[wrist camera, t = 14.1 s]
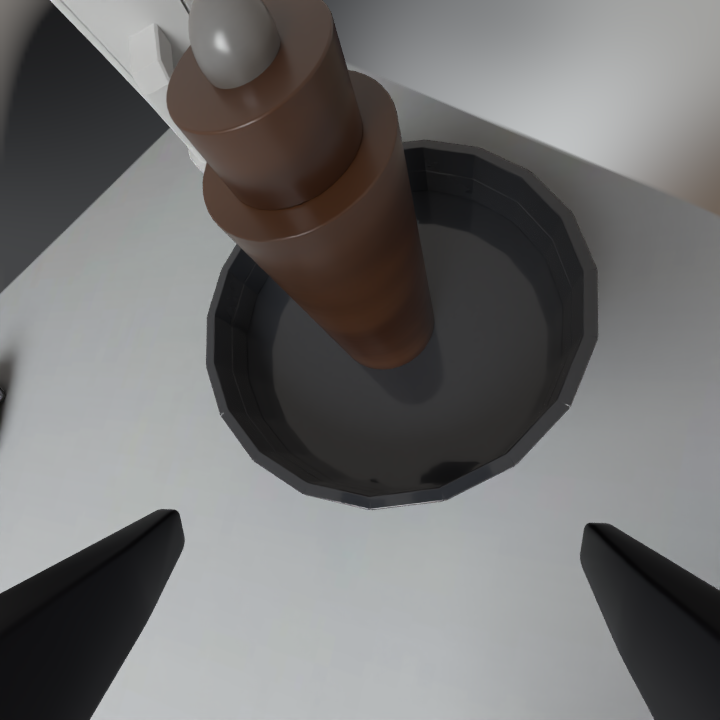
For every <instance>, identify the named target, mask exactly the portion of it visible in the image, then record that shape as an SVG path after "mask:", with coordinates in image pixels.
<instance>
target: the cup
mask: <svg viewBox="0 0 720 720" xmlns="http://www.w3.org/2000/svg"><path fill="white" fill-rule="evenodd" d="M50 1H51V2H52V3H53V4H54V5H55V6H56V7H57V8H58V9H59V10H60V11H61V12H62V13H63V14H64V15H65V16H66V17H67V18H68V19H69V20H70V21H71V22H72V23H73V24H74V25H75V26H76V27H77V29H78V30H79V31H80V32H81V33H82V34H83V35H84V36H85V37H86V38H87V39H88V40H89V41H90V42H91V43H92V44H93V45H94V46H95V47H96V48H97V49H98V50H99V51H100V52H101V53H102V54H103V55H104V56H105V57H106V59H108V61H109V62H110V63H111V64H112V65H113V66H114V67H115V68H116V69H117V70H118V71H119V72H120V73H121V74H122V75H123V76H124V78H125V79H126V80H127V81H128V82H129V83H130V84H131V85H132V86H133V87H134V88H135V89H136V90H137V91H138V92H139V93H140V94H141V96H142V97H143V98H144V99H145V100H146V101H147V102H148V103H149V104H150V105H151V106H152V107H153V108H154V110H155V111H156V112H157V113H158V114H159V115H160V116H161V118H162V119H163V120H164V121H165V122H166V123H167V124H168V125H169V127H170V128H171V129H172V130H173V131H174V132H175V133H176V134H177V136H178V137H179V138H180V139H181V140H182V141H183V142H184V143H185V145H186V146H187V147H188V150H189V156H190V158H191V160H192V161H193V162H194V164H195V165H196V166H197V167H198V168H199V170H200V171H201V172H202V173H203V174H204V171H205V167H206V163H207V162H206V160H205V159H204V158H203V157H202V156H201V154H200V153H199V152H198V151H197V150H196V148H195V147H194V146H193V145H192V144H191V142H190V141H189V140H188V139H187V138H186V136H185V135H184V134H183V133H182V132H181V130H180V129H179V128H178V127H177V126H176V124H175V123H174V122H173V120H172V119H171V117H170V115H169V112H168V109H167V103H166V94H167V88H168V84H169V81H170V78H171V76H172V73H173V71H174V69H175V67H176V65H177V64H178V62H179V60H180V59H181V57H182V56H183V54H184V53H185V51H186V50H187V49H188V48H189V46H190V45H191V44H190V39H189V32H188V20H189V13H190V9H191V6H192V3H193V1H194V0H50Z"/></svg>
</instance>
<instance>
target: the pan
mask: <svg viewBox="0 0 720 720" xmlns="http://www.w3.org/2000/svg"><path fill="white" fill-rule="evenodd" d="M402 143H403V149H404V154H405V160H406V165H407V171H408V176H409V182H410V187H411V193H412V198H413V204H414V209H415V215H416V220H417V226H418V231H419V237H420V242H421V247H422V253H423V258H424V264H425V269H426V275H427V280H428V286H429V291H430V297H431V302H432V308H433V314H434V328H433V332H432V336H431V338H430V340H429V342H428V344H427V345H426V347H425V348H424V350H423V351H422V352H421V353H420V354H419V355H418V356H417V357H416V358H414V359H413V360H412V361H410V362H408V363H407V364H405V365H402V366H400V367H396V368H393V369H373V368H369V367H366V366H364V365H361V364H360V363H358V362H356V361H355V360H354V359H353V358H352V357H351V356H350V355H349V354H348V353H347V352H346V351H345V350H344V349H343V348H342V347H341V346H340V345H339V344H338V343H336V342H335V341H334V340H333V339H332V338H331V337H330V336H329V335H328V334H327V333H326V332H325V331H324V330H323V329H322V328H321V327H320V326H319V325H318V324H317V323H316V322H315V321H314V320H313V319H312V318H311V317H310V316H309V315H308V314H307V313H306V312H305V311H304V310H303V309H302V308H301V307H300V306H299V305H298V304H297V303H296V302H295V301H294V300H293V299H292V298H291V297H290V296H289V295H288V294H287V293H286V292H285V291H284V290H283V289H282V288H281V287H280V286H279V285H278V284H277V283H276V282H275V281H274V280H273V279H272V278H271V277H270V276H269V275H268V274H267V273H266V272H265V271H264V270H263V269H262V268H261V267H260V266H259V265H258V264H257V263H256V262H255V261H254V260H253V259H252V258H251V257H250V256H248V255H247V254H246V253H245V252H244V251H243V250H242V249H241V248H240V247H239V246H238V245H237V244H236V246H235V248H234V249H233V251H232V253H231V254H230V256H229V258H228V259H227V261H226V263H225V264H224V266H223V268H222V270H221V272H220V276H219V279H218V282H217V285H216V289H215V292H214V295H213V299H212V302H211V305H210V308H209V312H208V315H207V316H208V317H207V345H206V368H207V371H208V375H209V378H210V381H211V385H212V388H213V391H214V395H215V398H216V402H217V405H218V408H219V412H220V415H221V417H222V418H223V420H224V421H225V422H226V424H227V425H228V427H229V428H230V429H231V431H232V432H233V434H234V435H235V436H236V438H237V439H238V440H239V442H240V443H241V445H242V446H243V447H244V449H245V450H246V452H247V453H248V454H249V456H250V457H251V458H252V460H254V462H256V463H257V464H259V465H260V466H262V467H263V468H265V469H266V470H268V471H269V472H271V473H272V474H274V475H275V476H277V477H278V478H280V479H281V480H283V481H284V482H286V483H287V484H289V485H290V486H292V487H293V488H295V489H296V490H298V491H299V492H301V493H302V494H305V495H307V496H312V497H316V498H320V499H324V500H329V501H333V502H337V503H342V504H346V505H350V506H354V507H359V508H363V509H367V510H370V509H371V510H376V509H384V508H393V507H401V506H409V505H417V504H425V503H434V502H442V501H444V500H445V501H446V500H448V499H450V498H452V497H454V496H456V495H458V494H460V493H462V492H464V491H466V490H468V489H470V488H472V487H474V486H476V485H478V484H480V483H482V482H484V481H486V480H488V479H490V478H492V477H494V476H496V475H498V474H500V473H502V472H504V471H506V470H508V469H510V468H512V467H514V466H515V465H516V464H518V463H519V462H520V461H521V460H522V458H523V457H524V456H525V455H526V454H527V453H528V452H529V451H530V450H531V449H532V448H533V447H534V446H535V445H536V444H537V442H538V441H539V440H540V439H541V438H542V437H543V436H544V435H545V434H546V433H547V432H548V431H549V430H550V429H551V428H552V426H553V425H554V424H555V423H556V422H557V421H558V420H559V419H560V418H561V417H562V416H563V415H564V414H565V413H566V412H567V410H568V409H569V407H570V406H571V404H572V402H573V400H574V397H575V395H576V392H577V390H578V387H579V385H580V382H581V380H582V377H583V375H584V372H585V370H586V367H587V365H588V362H589V360H590V357H591V355H592V352H593V350H594V347H595V345H596V343H597V340H598V271H597V268H596V265H595V263H594V261H593V258H592V256H591V254H590V252H589V249H588V247H587V245H586V242H585V240H584V238H583V235H582V233H581V231H580V229H579V226H578V224H577V222H576V219H575V217H574V215H573V213H572V212H571V210H570V209H569V208H567V207H566V206H565V205H564V204H563V203H562V202H561V201H560V200H559V199H558V198H557V197H556V196H555V195H554V194H553V193H552V192H551V191H550V190H549V189H548V188H547V187H546V186H545V185H544V184H543V183H542V182H541V181H540V180H539V179H538V178H537V177H536V176H535V175H534V174H533V173H532V172H530V171H529V170H527V169H525V168H523V167H520V166H518V165H516V164H514V163H512V162H510V161H508V160H505V159H503V158H501V157H499V156H497V155H495V154H492V153H490V152H488V151H486V150H484V149H482V148H479V147H473V146H466V145H459V144H452V143H444V142H437V141H430V140H426V141H425V140H419V141H410V142H402Z"/></svg>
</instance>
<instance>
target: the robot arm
mask: <svg viewBox="0 0 720 720" xmlns="http://www.w3.org/2000/svg"><path fill="white" fill-rule="evenodd" d="M184 542H185V538H184V533H183V528H182V523H181V519H180V514H179V513H178V511H177V510H172V509H160V510H157V511H155V512H153V513H151V514H149V515H147V516H145V517H144V518H142V519H140V520H138V521H136V522H134V523H132V524H130V525H129V526H127V527H125V528H123V529H121V530H119V531H117V532H115V533H113V534H112V535H110V536H108V537H106V538H104V539H102V540H100V541H98V542H97V543H95V544H93V545H91V546H89V547H87V548H85V549H83V550H81V551H80V552H78V553H76V554H74V555H72V556H70V557H68V558H66V559H65V560H63V561H61V562H59V563H57V564H55V565H53V566H51V567H49V568H48V569H46V570H44V571H42V572H40V573H38V574H36V575H34V576H33V577H31V578H29V579H27V580H25V581H23V582H21V583H19V584H17V585H16V586H14V587H12V588H10V589H8V590H6V591H4V592H2V593H1V594H0V720H90V718H91V717H92V715H93V713H94V712H95V710H96V708H97V707H98V705H99V703H100V702H101V700H102V698H103V696H104V695H105V693H106V691H107V690H108V688H109V686H110V685H111V683H112V681H113V679H114V678H115V676H116V674H117V673H118V671H119V669H120V668H121V666H122V664H123V663H124V661H125V659H126V657H127V656H128V654H129V652H130V651H131V649H132V647H133V646H134V644H135V642H136V641H137V639H138V637H139V635H140V634H141V632H142V630H143V628H144V627H145V625H146V623H147V621H148V619H149V617H150V615H151V614H152V612H153V610H154V608H155V606H156V604H157V602H158V599H159V597H160V595H161V593H162V591H163V589H164V587H165V585H166V583H167V581H168V579H169V577H170V575H171V573H172V571H173V569H174V567H175V565H176V563H177V560H178V558H179V556H180V554H181V552H182V550H183V547H184ZM580 560H581V564H582V568H583V570H584V572H585V575H586V577H587V579H588V582H589V584H590V586H591V589H592V591H593V593H594V596H595V598H596V600H597V603H598V605H599V607H600V610H601V612H602V614H603V617H604V619H605V621H606V624H607V626H608V628H609V631H610V633H611V635H612V638H613V640H614V642H615V644H616V646H617V649H618V651H619V653H620V655H621V657H622V659H623V661H624V663H625V665H626V667H627V669H628V671H629V673H630V674H631V676H632V678H633V680H634V682H635V684H636V686H637V688H638V689H639V691H640V693H641V695H642V697H643V699H644V701H645V703H646V704H647V706H648V708H649V710H650V712H651V714H652V716H653V717H654V719H655V720H720V591H719V590H718V589H716V588H715V587H713V586H711V585H710V584H708V583H706V582H705V581H703V580H701V579H700V578H698V577H696V576H695V575H693V574H691V573H690V572H688V571H687V570H685V569H683V568H682V567H680V566H678V565H677V564H675V563H673V562H672V561H670V560H668V559H667V558H665V557H663V556H662V555H660V554H658V553H657V552H655V551H654V550H652V549H650V548H649V547H647V546H645V545H644V544H642V543H640V542H639V541H637V540H635V539H634V538H632V537H630V536H629V535H627V534H625V533H624V532H622V531H621V530H619V529H617V528H616V527H614V526H612V525H610V524H607V523H588V524H586V526H585V528H584V533H583V539H582V546H581V552H580Z"/></svg>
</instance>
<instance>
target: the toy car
mask: <svg viewBox="0 0 720 720" xmlns="http://www.w3.org/2000/svg"><path fill="white" fill-rule="evenodd" d="M4 399H5V392H4V391H3V390H2V389H1V388H0V402H2V401H3V400H4Z"/></svg>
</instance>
